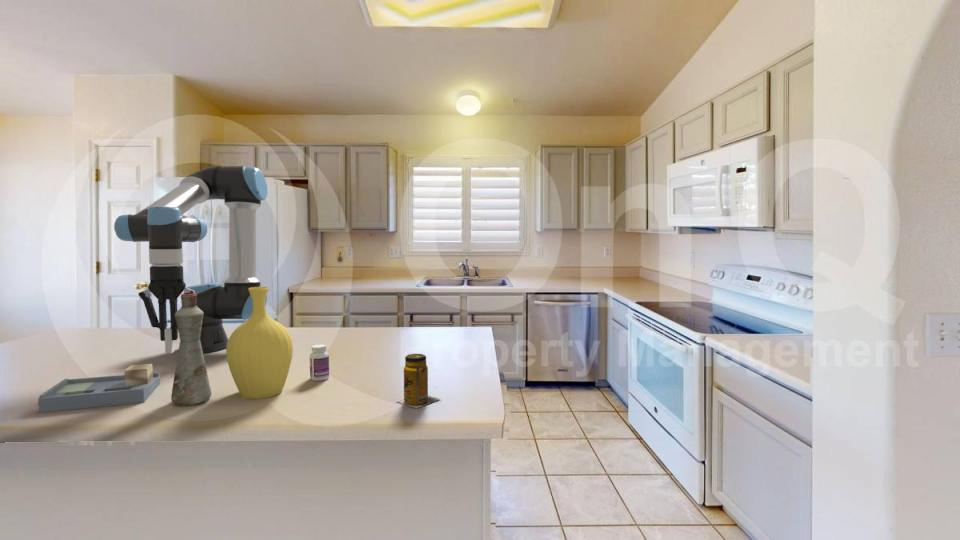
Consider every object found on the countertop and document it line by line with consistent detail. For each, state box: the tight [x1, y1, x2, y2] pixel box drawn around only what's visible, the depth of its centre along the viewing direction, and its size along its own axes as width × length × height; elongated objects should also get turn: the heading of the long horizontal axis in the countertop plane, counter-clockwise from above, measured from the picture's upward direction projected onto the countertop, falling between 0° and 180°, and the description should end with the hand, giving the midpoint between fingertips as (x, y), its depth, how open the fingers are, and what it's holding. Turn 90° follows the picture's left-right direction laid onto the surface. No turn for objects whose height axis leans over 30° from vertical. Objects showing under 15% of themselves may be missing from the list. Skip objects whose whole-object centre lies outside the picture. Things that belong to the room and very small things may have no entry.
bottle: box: [170, 291, 212, 407], centre depth 122 cm, size 9×9×28 cm
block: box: [124, 363, 154, 386], centre depth 131 cm, size 5×5×4 cm
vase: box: [225, 286, 294, 400], centre depth 130 cm, size 16×16×28 cm
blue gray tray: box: [37, 371, 161, 414], centre depth 126 cm, size 21×15×4 cm
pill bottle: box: [309, 344, 330, 382], centre depth 143 cm, size 5×5×10 cm
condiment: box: [397, 353, 440, 409], centre depth 125 cm, size 7×8×12 cm
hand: (169, 352), depth 133 cm, fingers closed
